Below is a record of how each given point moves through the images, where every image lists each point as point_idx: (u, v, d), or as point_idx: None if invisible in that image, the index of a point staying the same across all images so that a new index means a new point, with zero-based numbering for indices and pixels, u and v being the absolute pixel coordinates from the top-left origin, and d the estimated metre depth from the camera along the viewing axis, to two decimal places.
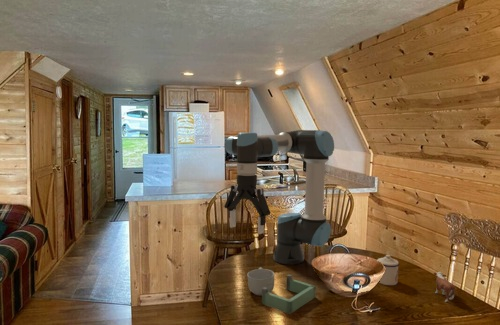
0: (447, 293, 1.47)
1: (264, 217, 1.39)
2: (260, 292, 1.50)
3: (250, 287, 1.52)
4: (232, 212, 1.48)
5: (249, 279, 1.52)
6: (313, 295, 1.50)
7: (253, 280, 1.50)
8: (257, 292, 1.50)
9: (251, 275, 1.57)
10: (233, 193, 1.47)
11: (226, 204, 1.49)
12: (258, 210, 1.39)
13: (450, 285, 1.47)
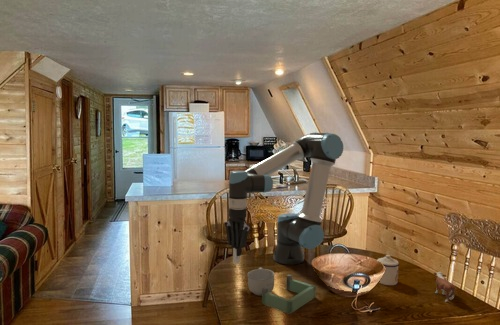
0: (447, 293, 1.47)
1: (240, 249, 1.62)
2: (260, 292, 1.50)
3: (250, 287, 1.52)
4: None
5: (249, 279, 1.52)
6: (313, 295, 1.50)
7: (253, 280, 1.50)
8: (257, 292, 1.50)
9: (251, 275, 1.57)
10: (229, 228, 1.65)
11: (229, 241, 1.64)
12: (237, 242, 1.61)
13: (450, 285, 1.47)
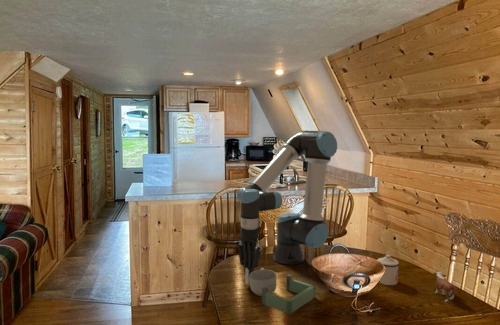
0: (447, 293, 1.47)
1: (252, 269, 1.58)
2: None
3: (252, 288, 1.51)
4: None
5: (251, 280, 1.51)
6: (313, 295, 1.50)
7: (255, 281, 1.49)
8: (259, 293, 1.49)
9: (253, 276, 1.57)
10: (241, 247, 1.61)
11: (241, 261, 1.61)
12: (249, 263, 1.58)
13: (450, 285, 1.47)
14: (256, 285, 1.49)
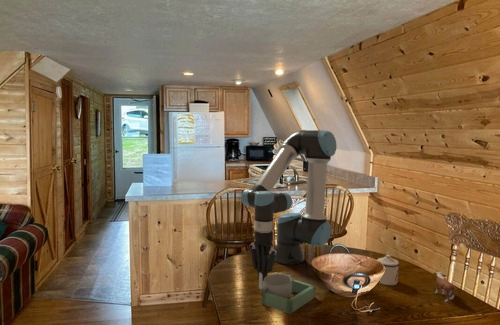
0: (447, 293, 1.47)
1: (266, 274, 1.54)
2: None
3: None
4: None
5: (266, 285, 1.46)
6: (313, 295, 1.50)
7: (271, 286, 1.45)
8: None
9: (267, 280, 1.52)
10: (254, 251, 1.57)
11: (254, 265, 1.56)
12: (263, 267, 1.53)
13: (450, 285, 1.47)
14: (272, 290, 1.45)
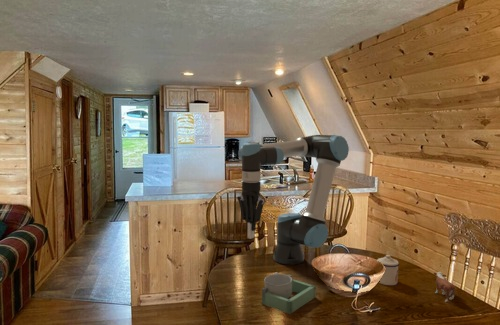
0: (447, 293, 1.47)
1: (254, 223, 1.58)
2: None
3: None
4: None
5: (267, 285, 1.46)
6: (313, 295, 1.50)
7: (271, 286, 1.45)
8: None
9: (267, 281, 1.52)
10: (242, 202, 1.60)
11: (242, 216, 1.60)
12: (251, 217, 1.57)
13: (450, 285, 1.47)
14: (272, 290, 1.45)
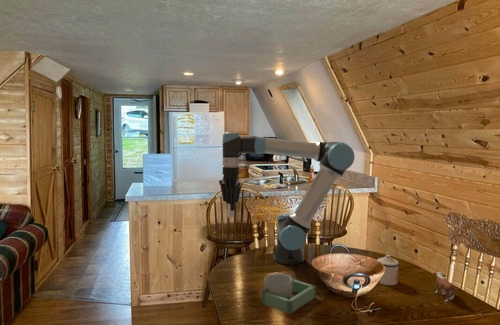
0: (447, 293, 1.47)
1: (233, 204, 1.76)
2: None
3: None
4: None
5: (267, 285, 1.46)
6: (313, 295, 1.50)
7: (271, 286, 1.45)
8: None
9: (267, 281, 1.52)
10: (223, 185, 1.79)
11: (223, 197, 1.78)
12: (231, 198, 1.76)
13: (450, 285, 1.47)
14: (272, 290, 1.45)
